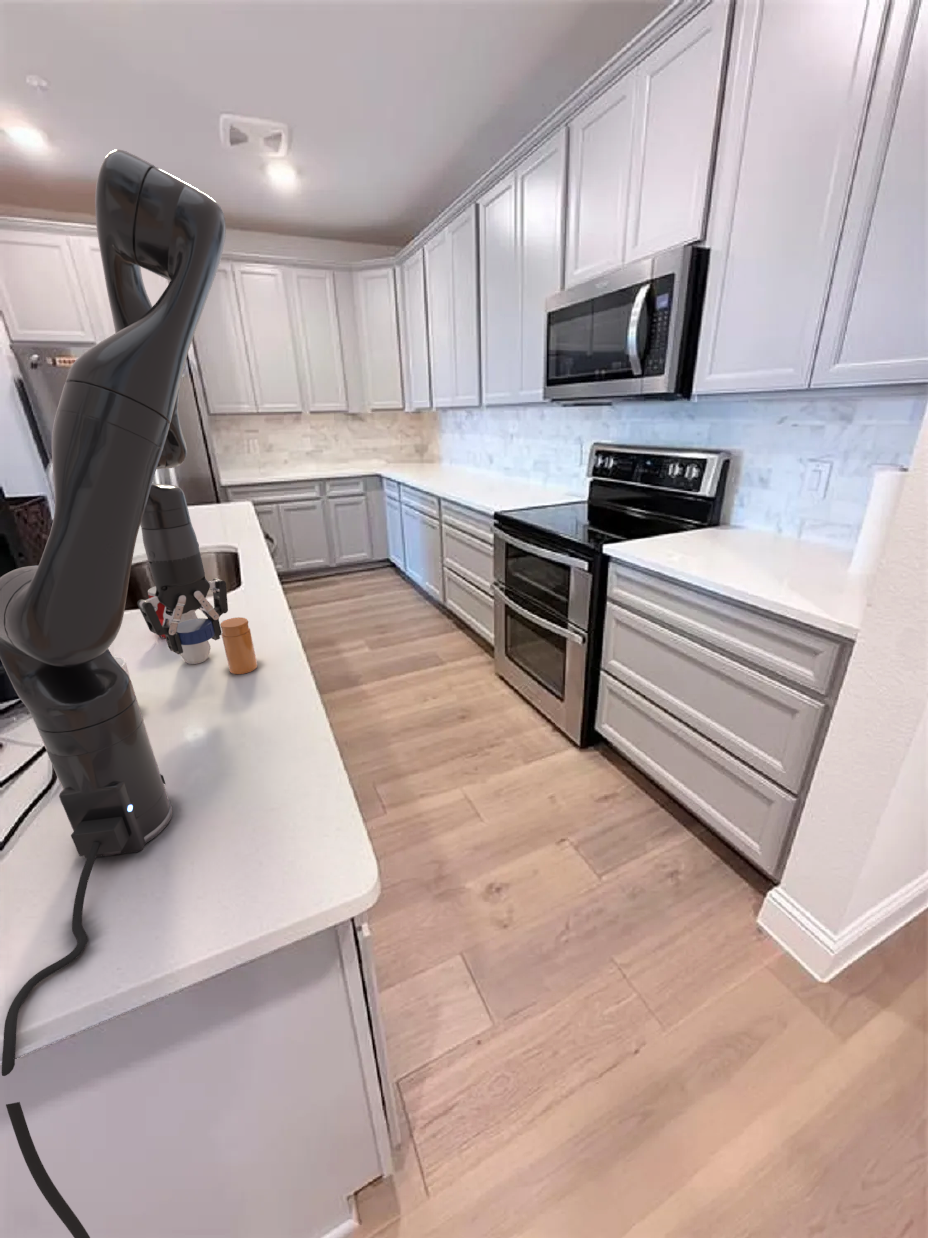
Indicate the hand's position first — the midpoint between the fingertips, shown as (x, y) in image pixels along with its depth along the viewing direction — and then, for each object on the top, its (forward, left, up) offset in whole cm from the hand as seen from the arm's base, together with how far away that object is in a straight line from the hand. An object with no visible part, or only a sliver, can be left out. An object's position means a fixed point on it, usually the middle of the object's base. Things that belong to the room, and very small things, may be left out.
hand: (197, 645), depth 89 cm
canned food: (+31, +15, -10) cm, 36 cm away
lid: (0, 0, +3) cm, 3 cm away
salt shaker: (+15, +7, -10) cm, 19 cm away
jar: (+9, -4, -10) cm, 14 cm away
